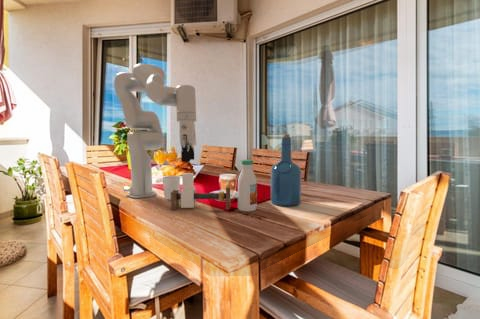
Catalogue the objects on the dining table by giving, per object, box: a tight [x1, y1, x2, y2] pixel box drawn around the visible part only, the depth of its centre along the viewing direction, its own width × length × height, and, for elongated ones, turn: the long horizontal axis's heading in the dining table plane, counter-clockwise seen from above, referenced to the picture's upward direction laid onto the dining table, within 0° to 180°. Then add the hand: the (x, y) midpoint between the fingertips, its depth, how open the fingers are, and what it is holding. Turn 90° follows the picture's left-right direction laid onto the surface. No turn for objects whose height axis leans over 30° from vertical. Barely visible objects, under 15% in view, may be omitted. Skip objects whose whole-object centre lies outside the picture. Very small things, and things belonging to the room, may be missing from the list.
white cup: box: [162, 175, 181, 201], centre depth 127 cm, size 8×8×10 cm
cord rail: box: [170, 184, 231, 211], centre depth 110 cm, size 24×5×9 cm, turn 90°
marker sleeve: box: [180, 172, 197, 209], centre depth 110 cm, size 5×5×13 cm
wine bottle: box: [270, 133, 303, 207], centre depth 116 cm, size 14×13×30 cm
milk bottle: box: [237, 159, 258, 213], centre depth 107 cm, size 8×8×20 cm
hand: (188, 160), depth 108 cm, fingers open, 9 cm apart
